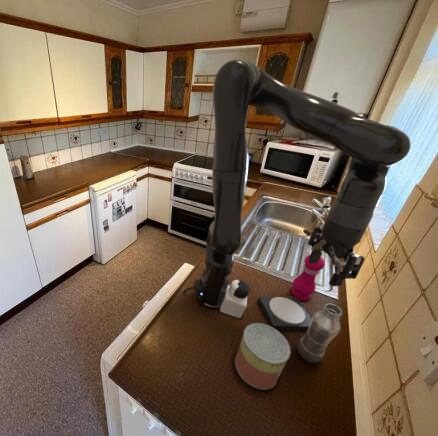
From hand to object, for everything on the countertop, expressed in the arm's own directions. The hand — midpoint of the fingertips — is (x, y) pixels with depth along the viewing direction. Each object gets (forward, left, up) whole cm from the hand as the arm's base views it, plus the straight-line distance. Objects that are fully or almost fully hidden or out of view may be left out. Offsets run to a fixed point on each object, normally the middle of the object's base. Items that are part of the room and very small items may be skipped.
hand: (322, 273), depth 62 cm
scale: (+2, +9, -28) cm, 29 cm away
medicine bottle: (-16, +12, -28) cm, 34 cm away
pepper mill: (+13, +19, -28) cm, 36 cm away
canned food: (-15, -9, -28) cm, 33 cm away
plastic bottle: (+2, -5, -28) cm, 28 cm away
